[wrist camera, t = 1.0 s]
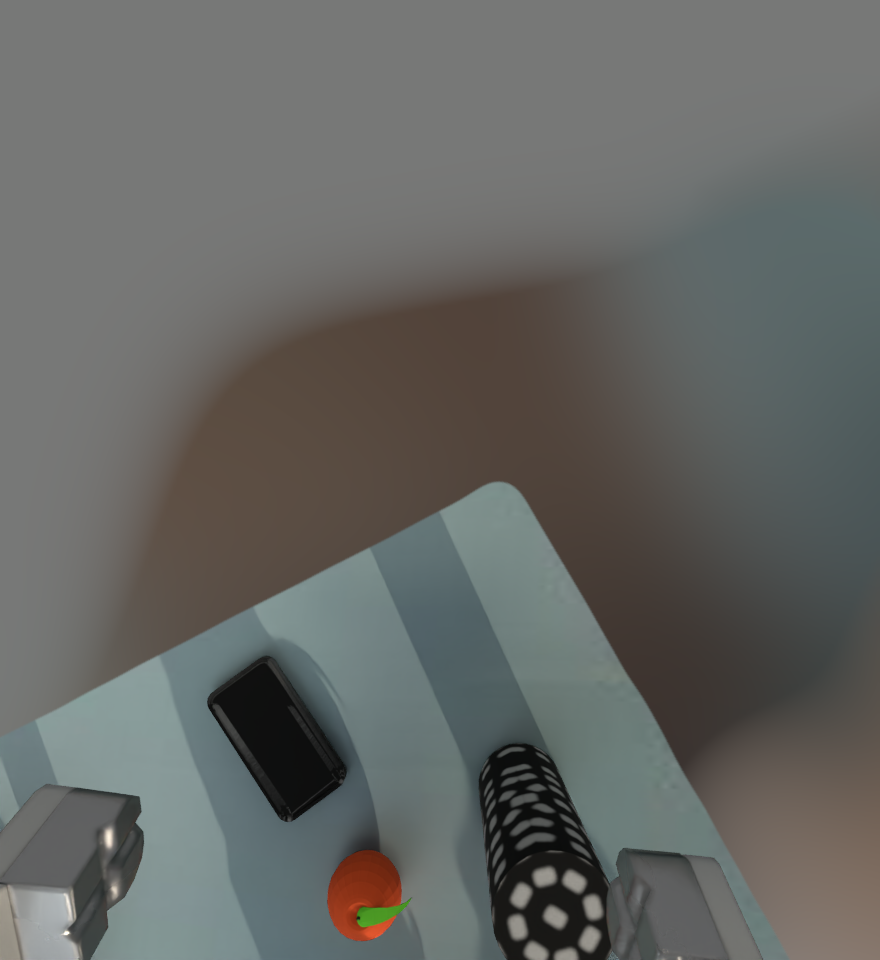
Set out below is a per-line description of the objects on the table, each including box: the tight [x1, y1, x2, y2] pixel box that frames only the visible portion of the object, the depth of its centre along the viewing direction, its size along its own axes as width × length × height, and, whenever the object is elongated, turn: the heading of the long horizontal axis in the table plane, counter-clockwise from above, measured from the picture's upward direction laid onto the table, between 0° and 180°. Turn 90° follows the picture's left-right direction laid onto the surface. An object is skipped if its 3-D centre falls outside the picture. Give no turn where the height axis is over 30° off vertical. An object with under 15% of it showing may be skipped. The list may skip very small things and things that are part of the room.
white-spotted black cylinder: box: [479, 743, 612, 960], centre depth 47 cm, size 8×8×20 cm
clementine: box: [327, 850, 412, 941], centre depth 53 cm, size 8×7×7 cm
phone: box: [207, 656, 346, 822], centre depth 58 cm, size 8×1×15 cm
